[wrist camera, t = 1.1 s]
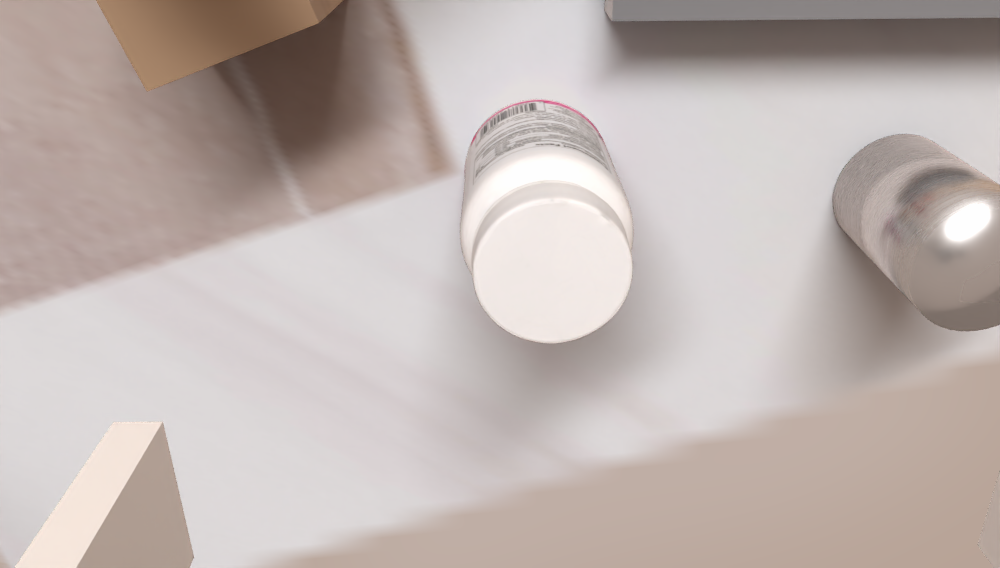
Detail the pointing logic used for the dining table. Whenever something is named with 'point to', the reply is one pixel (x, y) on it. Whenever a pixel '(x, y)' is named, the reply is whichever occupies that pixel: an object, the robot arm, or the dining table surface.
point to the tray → (797, 9)
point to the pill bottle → (545, 223)
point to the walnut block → (202, 31)
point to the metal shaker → (926, 227)
